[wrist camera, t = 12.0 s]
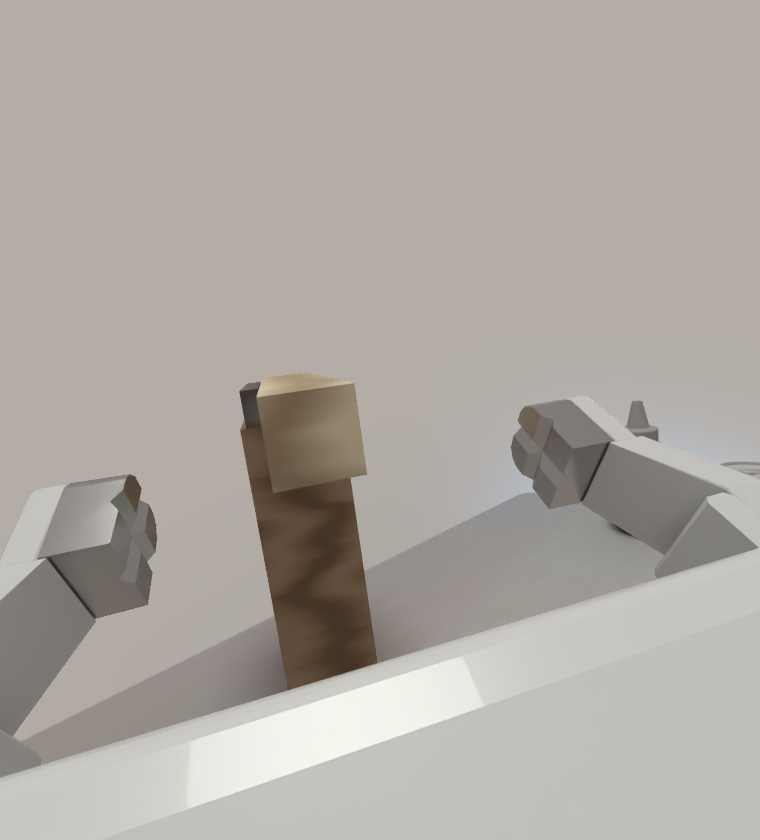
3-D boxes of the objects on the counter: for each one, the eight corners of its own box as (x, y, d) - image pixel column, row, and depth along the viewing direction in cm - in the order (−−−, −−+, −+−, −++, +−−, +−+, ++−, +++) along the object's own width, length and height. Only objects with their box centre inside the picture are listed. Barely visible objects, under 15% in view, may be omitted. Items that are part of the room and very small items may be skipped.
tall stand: (298, 744, 33) (233, 392, 29) (290, 646, 45) (242, 384, 40) (384, 715, 35) (335, 377, 30) (355, 627, 46) (316, 374, 42)
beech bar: (273, 493, 13) (256, 397, 13) (269, 420, 30) (262, 378, 30) (367, 474, 14) (354, 382, 13) (311, 413, 31) (305, 372, 31)
